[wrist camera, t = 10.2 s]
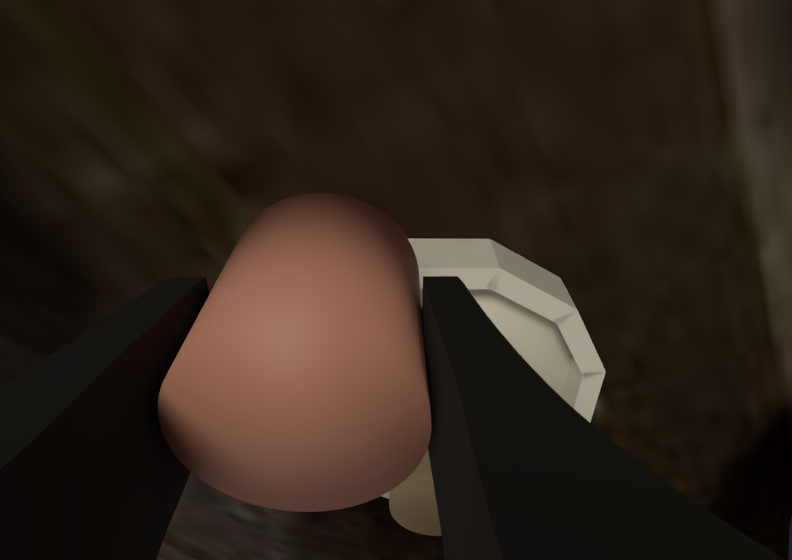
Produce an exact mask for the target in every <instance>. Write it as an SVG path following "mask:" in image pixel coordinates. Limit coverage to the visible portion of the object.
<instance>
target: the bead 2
mask: <svg viewBox="0 0 792 560" xmlns="http://www.w3.org/2000/svg"><path fill="white" fill-rule="evenodd" d="M389 508H390V512H391V515H392V516H393V518H394V519H395V520H396V521H397V522H398V523H399V524H400V525H401V526H403V527H404V528H406V529H408V530H410V531H413V532H416V533H420V534H424V535H432V536H442V535H441V527H440V521H439V515H438V509H437V502H436V496H435V490H434V484H433V477H432V471H431V465H430V459H429V452H428V448H427V451H426V453H425V455H424V457H423V459H422V461H421V462H420V464H419V465H418V466H417V468H416V469H415V470H414V472H413V473H412V474H411V475H410V476H409V477H408V478H407V479H406V480H404V481H403V482H402V483H401V484H399V485H398V486H397V487H395V488H394V489H392V490H391V491H389Z"/></svg>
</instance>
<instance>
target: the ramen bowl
mask: <svg viewBox="0 0 792 560" xmlns="http://www.w3.org/2000/svg"><path fill="white" fill-rule="evenodd" d="M788 560H792V516H791V521H790V526H789V556H788Z"/></svg>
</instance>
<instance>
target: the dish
mask: <svg viewBox="0 0 792 560" xmlns="http://www.w3.org/2000/svg"><path fill="white" fill-rule="evenodd" d="M408 240H409V242H410V244H411V246H412V248H413V250H414V253H415V256H416V259H417V263H418V268H419V280H420V292H421V304H422V292H423V276H458V277H459V278H460V279H461V280H462V281H463V283H464V284H465V286H466V287H467V289H468V290H469V291H470V293H471V294H472V296H473V297H474V298H475V300H476V301H477V303H478V304H479V305H480V307H481V308H482V309H483V311H484V312H485V313H486V314H487V316H488V317H489V318H490V320H491V321H492V322H493V323H494V325H495V326H496V327H497V328H498V330H499V331H500V332H501V333H502V334H503V335H504V337H505V338H506V339H507V340H508V341H509V342H510V344H511V345H512V346H513V347H514V348H515V349H516V351H517V352H518V353H519V354H520V355H521V356H522V357H523V358H524V360H525V361H526V362H527V363H528V364H529V365H530V366H531V367H532V368H533V369H534V370H535V371H536V372H537V373H538V374H539V375H540V376H541V377H542V379H543V380H544V381H545V382H546V383H547V384H548V385H549V386H550V387H551V388H552V389H553V390H554V391H555V392H556V393H557V394H559V395H560V396H561V397H562V398H563V399H564V400H565V401H566V402H567V403H568V404H569V405H570V406H571V407H572V408H574V409H575V410H576V411H577V412H578V413H579V414H581V415H582V416H583V417H584V418H585V419H586V420H587V421H589V422H591V418H592V415H593V412H594V408H595V405H596V402H597V399H598V395H599V392H600V389H601V385H602V382H603V379H604V376H605V372H606V371H605V369H604V367H603V365H602V362H601V360H600V358H599V356H598V354H597V352H596V349H595V347H594V345H593V343H592V341H591V339H590V336H589V334H588V332H587V330H586V328H585V326H584V323H583V321H582V319H581V317H580V315H579V313H578V310H577V308H576V307H575V305H574V303H573V301H572V299H571V297H570V295H569V293H568V291H567V290H566V288H565V286H564V284H563V282H562V280H561V278H560V277H558V276H556V275H554V274H552V273H551V272H549V271H547V270H545V269H543V268H542V267H540V266H538V265H536V264H534V263H533V262H531V261H529V260H527V259H525V258H523V257H522V256H520V255H518V254H516V253H514V252H513V251H511V250H509V249H507V248H505V247H504V246H502V245H500V244H498V243H496V242H494V241H493V240H491V239H408ZM382 497H385V498H388V499H389V492H387V493H385V494H384V495H382Z"/></svg>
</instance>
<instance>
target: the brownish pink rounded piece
mask: <svg viewBox="0 0 792 560" xmlns="http://www.w3.org/2000/svg"><path fill="white" fill-rule="evenodd" d="M158 419H159V423H160V427H161V431H162V433H163V435H164V438H165V440H166V442H167V444H168V445H169V447H170V448H171V450H172V452H173V453H174V455H175V456H176V457H177V458H178V459H179V460H180V462H181V463H182V464H183V465H184V466H185V467H186V468H187V469H189V470H190V471H191V472H192V473H193V474H194V475H195V476H197V477H198V478H200V479H201V480H202V481H204V482H205V483H207V484H208V485H210V486H212V487H213V488H215V489H217V490H219V491H221V492H223V493H225V494H227V495H229V496H231V497H234V498H236V499H239V500H242V501H245V502H247V503H251V504H255V505H258V506H262V507H267V508H272V509H277V510H286V511H299V512H316V511H329V510H337V509H342V508H347V507H352V506H356V505H359V504H362V503H365V502H368V501H370V500H373V499H375V498H378V497H380V496H382V495H384V494H385V493H387V492H389V491H391V490H392V489H394V488H395V487H397V486H398V485H399V484H401V483H402V482H403V481H404V480H406V479H407V478H408V477H409V476H410V475H411V474H412V473H413V472H414V470H415V469H416V468H417V466H418V465H419V464H420V462H421V461H422V459H423V457H424V455H425V453H426V451H427V448H428V445H429V442H430V436H431V430H432V429H431V411H430V399H429V387H428V375H427V364H426V352H425V340H424V329H423V317H422V304H421V292H420V280H419V268H418V263H417V259H416V256H415V253H414V250H413V248H412V246H411V244H410V242H409V240H408V238H407V237H406V235H405V234H404V233H403V231H402V230H401V229H400V228H399V227H398V226H397V224H396V223H395V222H394V221H393V220H392V219H390V218H389V217H388V216H387V215H385V214H384V213H383V212H381V211H380V210H378V209H376V208H375V207H373V206H371V205H369V204H367V203H365V202H363V201H360V200H358V199H355V198H351V197H348V196H344V195H338V194H332V193H308V194H302V195H296V196H292V197H289V198H286V199H283V200H281V201H279V202H276V203H274V204H272V205H270V206H269V207H267V208H266V209H264V210H263V211H261V212H260V213H259V214H258V215H257V216H256V217H255V218H254V219H252V221H251V222H250V223H249V224H248V226H247V227H246V228H245V230H244V231H243V233H242V235H241V237H240V238H239V240H238V242H237V244H236V246H235V248H234V250H233V251H232V253H231V255H230V257H229V259H228V261H227V263H226V264H225V266H224V268H223V270H222V272H221V274H220V276H219V278H218V279H217V281H216V283H215V285H214V287H213V289H212V291H211V293H210V294H209V296H208V298H207V300H206V302H205V304H204V306H203V308H202V309H201V311H200V313H199V315H198V317H197V319H196V321H195V323H194V324H193V326H192V328H191V330H190V332H189V334H188V336H187V337H186V339H185V341H184V343H183V345H182V347H181V349H180V351H179V352H178V354H177V356H176V358H175V360H174V362H173V364H172V366H171V367H170V369H169V371H168V373H167V375H166V377H165V379H164V381H163V383H162V386H161V389H160V392H159V398H158Z"/></svg>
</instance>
